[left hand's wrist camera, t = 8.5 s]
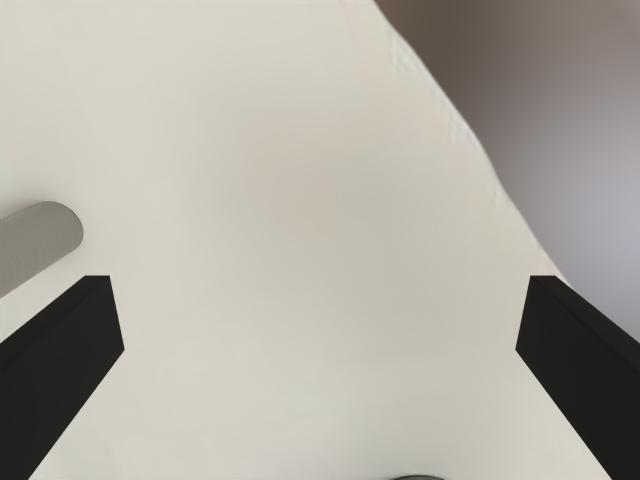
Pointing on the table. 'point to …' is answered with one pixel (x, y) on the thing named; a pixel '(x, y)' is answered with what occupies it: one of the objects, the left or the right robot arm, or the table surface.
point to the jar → (35, 242)
